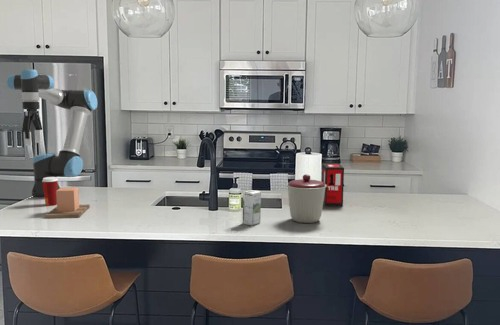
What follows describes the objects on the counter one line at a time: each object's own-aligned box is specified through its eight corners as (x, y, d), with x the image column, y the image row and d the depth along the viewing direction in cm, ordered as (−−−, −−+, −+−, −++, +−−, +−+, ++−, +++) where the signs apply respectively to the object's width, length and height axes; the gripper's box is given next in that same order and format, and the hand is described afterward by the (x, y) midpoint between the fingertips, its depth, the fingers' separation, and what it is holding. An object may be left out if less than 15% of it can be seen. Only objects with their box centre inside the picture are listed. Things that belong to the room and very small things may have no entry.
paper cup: (62, 203, 240) (60, 176, 238) (54, 206, 233) (53, 179, 231) (48, 202, 241) (46, 176, 239) (40, 206, 233) (38, 179, 231)
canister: (284, 224, 200) (285, 177, 197) (286, 214, 218) (287, 170, 215) (326, 226, 198) (327, 178, 195) (325, 216, 215) (326, 171, 212)
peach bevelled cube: (62, 207, 224) (61, 187, 222) (79, 207, 225) (78, 187, 223) (57, 211, 216) (56, 190, 214) (74, 211, 217) (73, 190, 215)
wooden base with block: (58, 207, 229) (57, 189, 228) (89, 207, 231) (88, 188, 230) (45, 218, 210) (44, 197, 208) (79, 217, 211) (78, 197, 210)
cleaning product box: (321, 199, 252) (322, 163, 249) (337, 199, 252) (338, 163, 249) (325, 206, 235) (326, 167, 233) (342, 206, 235) (344, 167, 233)
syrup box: (250, 221, 206) (250, 189, 204) (260, 223, 202) (261, 191, 200) (242, 223, 202) (242, 191, 200) (252, 226, 198) (252, 193, 196)
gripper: (32, 101, 238) (34, 141, 241) (12, 101, 213) (15, 146, 216) (47, 101, 238) (49, 141, 241) (29, 101, 214) (32, 146, 217)
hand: (33, 144), depth 229 cm, fingers open, 13 cm apart
